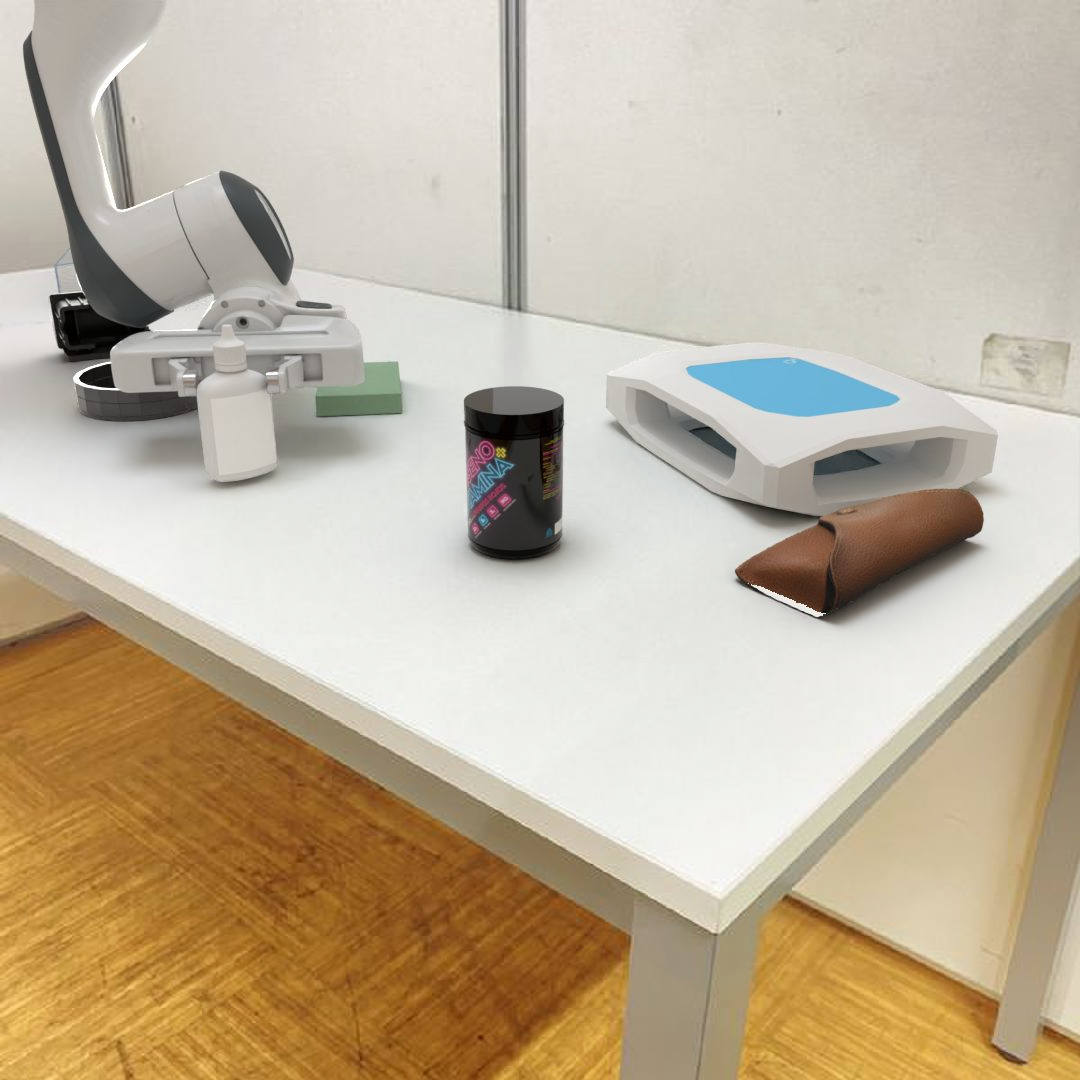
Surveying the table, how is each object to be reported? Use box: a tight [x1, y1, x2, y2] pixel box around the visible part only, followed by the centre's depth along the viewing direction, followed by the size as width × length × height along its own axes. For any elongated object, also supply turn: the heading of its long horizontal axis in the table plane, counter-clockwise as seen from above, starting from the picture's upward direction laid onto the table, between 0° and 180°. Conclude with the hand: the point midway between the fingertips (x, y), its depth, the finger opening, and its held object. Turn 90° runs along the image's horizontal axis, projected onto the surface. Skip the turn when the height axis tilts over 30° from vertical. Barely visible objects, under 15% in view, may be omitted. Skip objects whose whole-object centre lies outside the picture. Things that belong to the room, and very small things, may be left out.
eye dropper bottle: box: [197, 324, 278, 483], centre depth 89 cm, size 4×6×12 cm
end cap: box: [48, 292, 152, 362], centre depth 128 cm, size 10×7×7 cm
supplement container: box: [463, 385, 565, 560], centre depth 77 cm, size 7×7×10 cm
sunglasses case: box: [734, 488, 985, 617], centre depth 76 cm, size 18×7×7 cm
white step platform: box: [605, 341, 999, 517], centre depth 96 cm, size 21×28×6 cm
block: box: [315, 361, 403, 417], centre depth 112 cm, size 8×12×2 cm, turn 8°
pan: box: [72, 361, 198, 422], centre depth 110 cm, size 12×12×3 cm
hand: (232, 385), depth 87 cm, fingers closed on eye dropper bottle, 5 cm apart
